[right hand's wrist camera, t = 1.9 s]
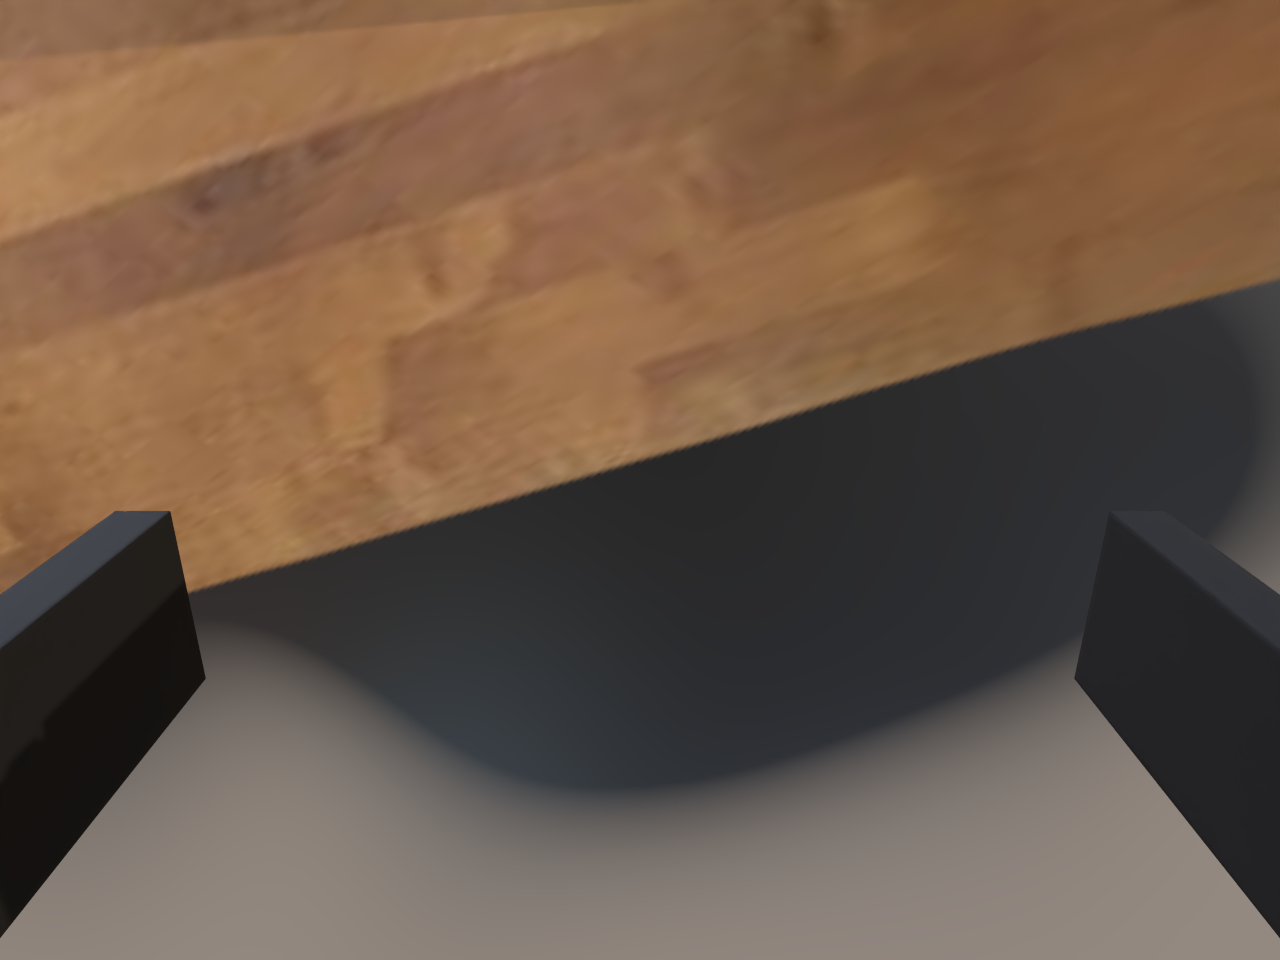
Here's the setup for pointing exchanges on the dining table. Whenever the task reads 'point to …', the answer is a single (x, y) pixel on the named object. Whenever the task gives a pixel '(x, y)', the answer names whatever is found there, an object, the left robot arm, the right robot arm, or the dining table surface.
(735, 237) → the dining table surface
